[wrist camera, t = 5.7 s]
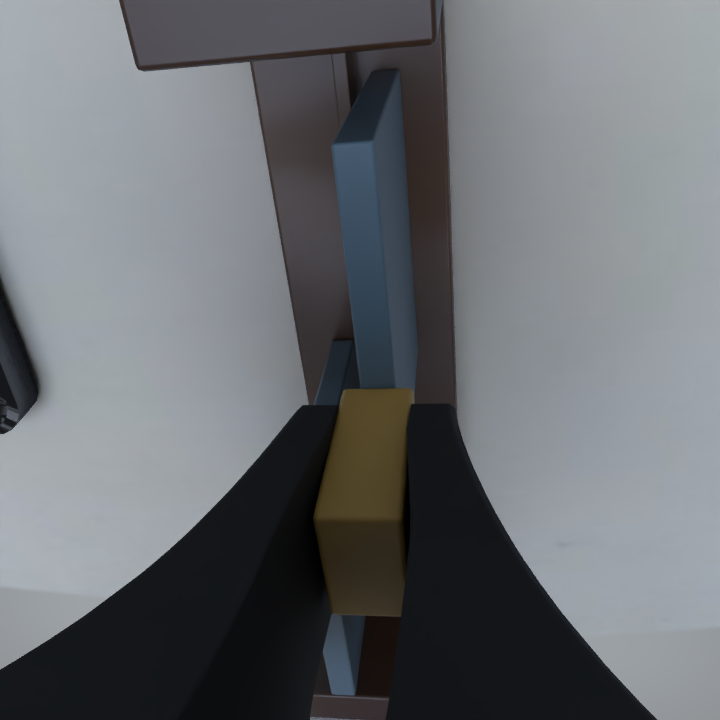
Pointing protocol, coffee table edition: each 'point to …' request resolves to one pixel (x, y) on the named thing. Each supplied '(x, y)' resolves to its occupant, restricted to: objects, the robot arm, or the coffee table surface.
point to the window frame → (334, 211)
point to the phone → (13, 374)
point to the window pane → (372, 364)
